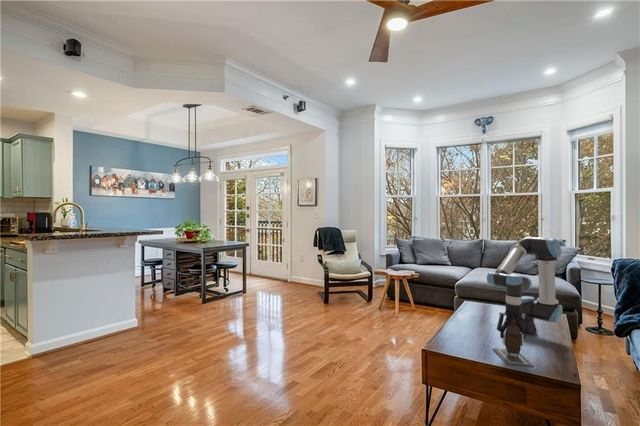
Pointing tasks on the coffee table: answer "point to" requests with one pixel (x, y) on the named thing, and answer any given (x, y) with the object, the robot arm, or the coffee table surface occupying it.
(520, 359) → the rest mat
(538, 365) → the coffee table surface
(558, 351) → the coffee table surface
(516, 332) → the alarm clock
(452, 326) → the coffee table surface
